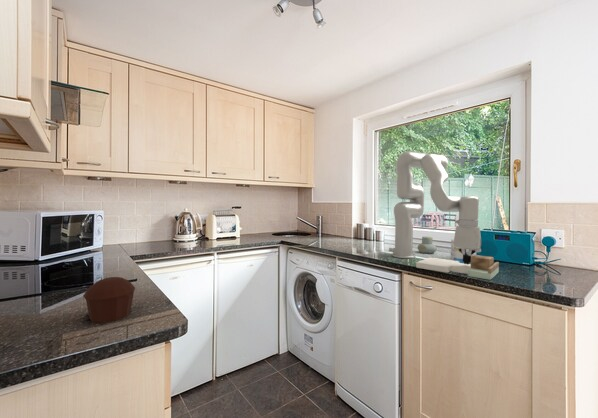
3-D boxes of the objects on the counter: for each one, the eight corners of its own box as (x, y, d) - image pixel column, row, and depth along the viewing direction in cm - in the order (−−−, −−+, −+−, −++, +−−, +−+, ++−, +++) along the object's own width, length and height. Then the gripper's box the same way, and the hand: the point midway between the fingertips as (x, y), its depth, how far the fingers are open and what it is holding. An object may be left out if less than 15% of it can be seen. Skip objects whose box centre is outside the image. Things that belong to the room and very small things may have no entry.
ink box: (473, 264, 143) (474, 241, 143) (455, 263, 145) (456, 241, 145) (467, 260, 152) (467, 239, 151) (450, 260, 153) (450, 238, 153)
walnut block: (470, 268, 123) (470, 256, 123) (475, 265, 128) (475, 254, 128) (489, 271, 118) (489, 259, 118) (493, 268, 123) (493, 257, 123)
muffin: (108, 307, 81) (108, 272, 81) (144, 308, 80) (144, 273, 80) (71, 324, 69) (70, 284, 69) (113, 327, 68) (112, 286, 68)
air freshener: (439, 254, 171) (439, 237, 171) (428, 254, 168) (429, 238, 168) (425, 251, 182) (425, 235, 181) (415, 251, 179) (415, 236, 178)
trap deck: (416, 267, 135) (416, 258, 134) (429, 261, 148) (429, 253, 147) (490, 279, 114) (490, 268, 114) (498, 272, 127) (498, 262, 127)
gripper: (447, 222, 130) (446, 262, 130) (485, 225, 119) (484, 268, 120) (452, 222, 135) (451, 260, 135) (489, 224, 124) (488, 265, 125)
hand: (466, 263), depth 128 cm, fingers closed
